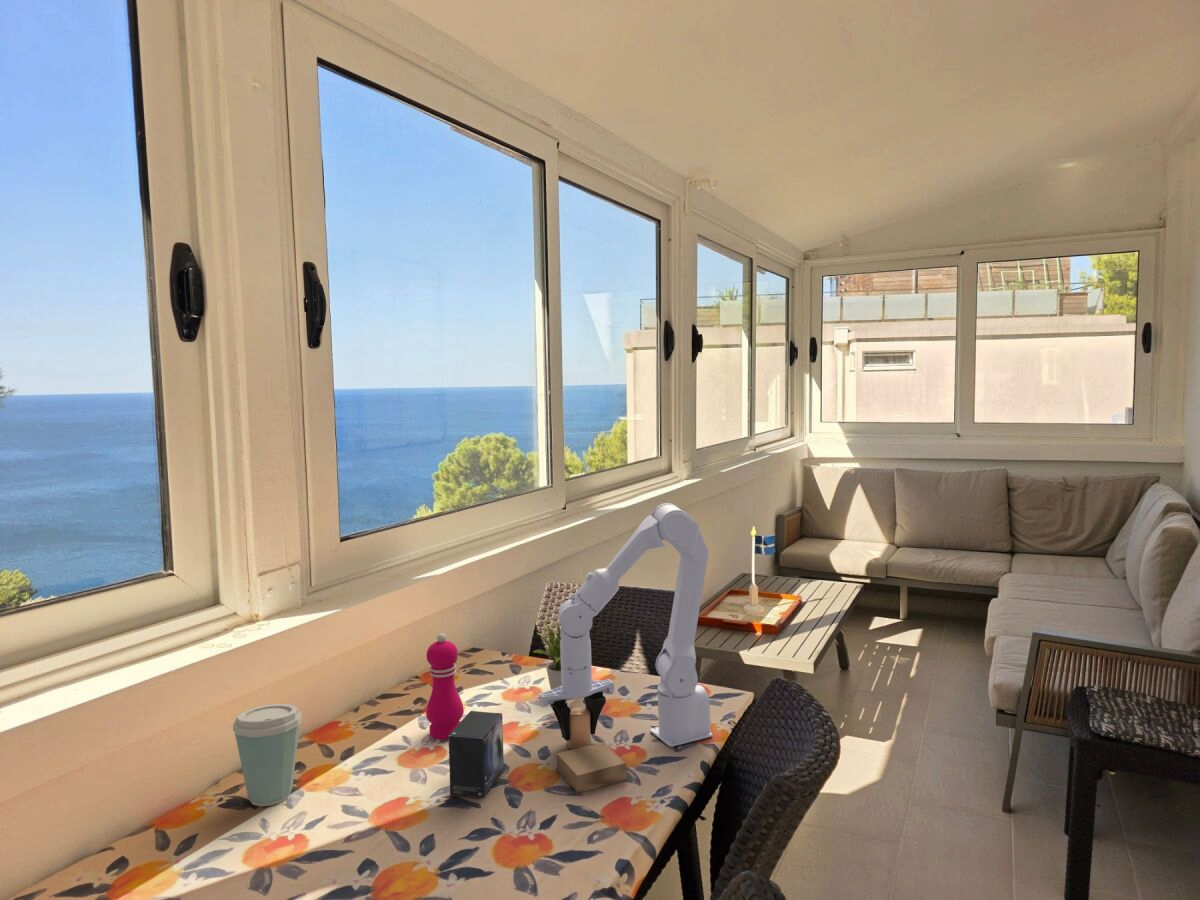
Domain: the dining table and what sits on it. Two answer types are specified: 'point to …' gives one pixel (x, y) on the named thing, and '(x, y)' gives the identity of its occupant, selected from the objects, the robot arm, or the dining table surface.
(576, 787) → the tan square base block
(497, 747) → the small box
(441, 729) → the pepper mill
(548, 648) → the house plant
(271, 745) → the disposable coffee cup
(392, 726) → the dining table surface
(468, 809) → the dining table surface
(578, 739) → the peach domed cylinder
